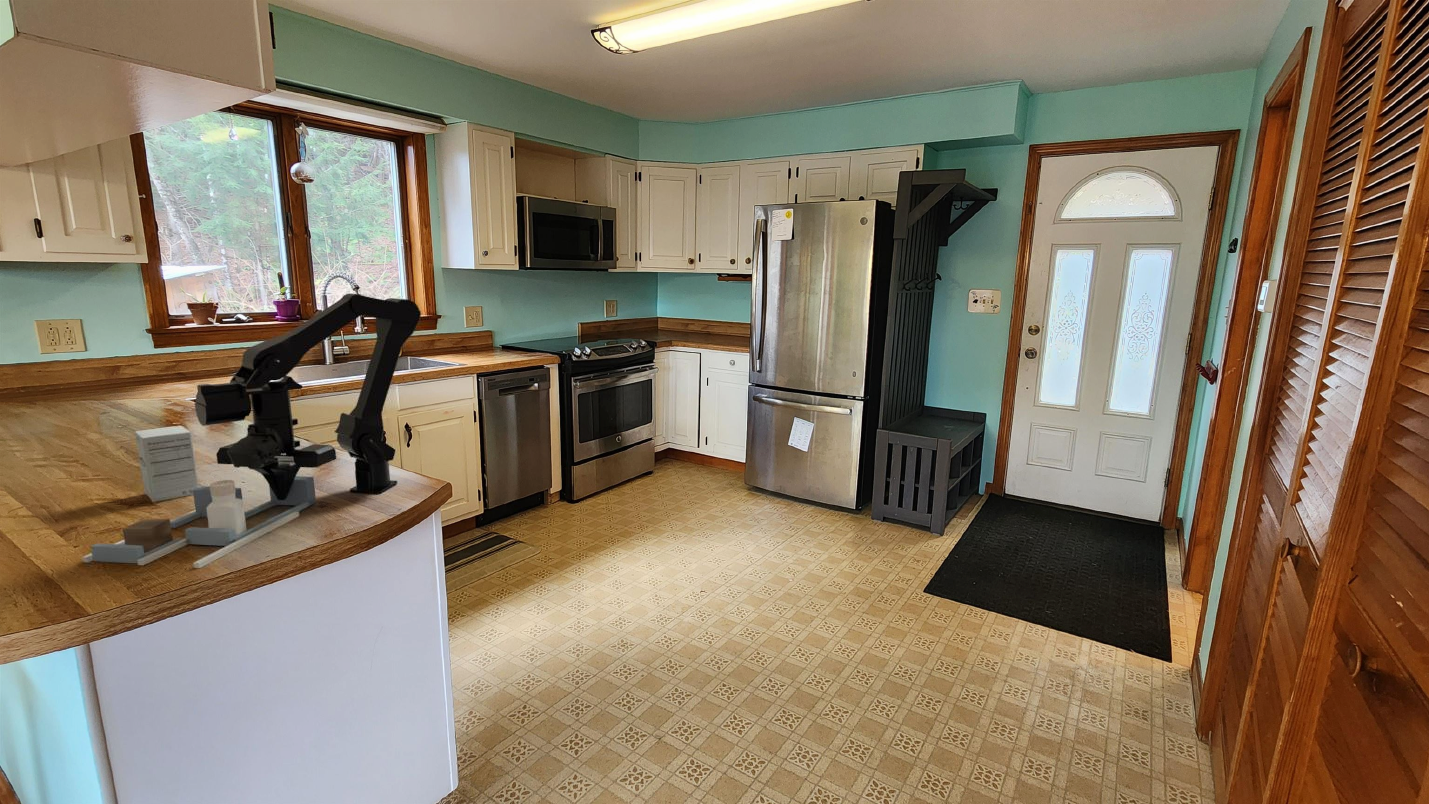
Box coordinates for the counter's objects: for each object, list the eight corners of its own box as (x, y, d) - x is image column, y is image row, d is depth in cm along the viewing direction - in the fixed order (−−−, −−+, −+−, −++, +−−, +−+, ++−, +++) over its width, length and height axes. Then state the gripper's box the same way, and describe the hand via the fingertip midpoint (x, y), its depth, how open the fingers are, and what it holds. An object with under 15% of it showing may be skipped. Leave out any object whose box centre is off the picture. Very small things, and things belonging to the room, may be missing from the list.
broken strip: (206, 512, 116) (202, 486, 115) (244, 514, 115) (241, 487, 114) (93, 560, 96) (87, 529, 95) (139, 563, 96) (133, 531, 95)
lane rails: (202, 511, 116) (201, 507, 116) (299, 515, 115) (298, 511, 115) (82, 562, 96) (81, 557, 96) (199, 568, 95) (198, 563, 94)
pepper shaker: (220, 534, 106) (212, 480, 105) (248, 532, 108) (241, 478, 106) (209, 544, 103) (201, 487, 101) (238, 542, 104) (231, 486, 102)
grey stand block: (279, 500, 122) (276, 475, 121) (316, 502, 121) (313, 476, 120) (187, 543, 102) (182, 514, 101) (230, 545, 102) (226, 516, 101)
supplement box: (143, 493, 125) (133, 430, 122) (191, 485, 130) (182, 424, 128) (151, 503, 120) (140, 437, 117) (200, 493, 125) (191, 430, 123)
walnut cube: (146, 542, 103) (142, 519, 102) (173, 542, 104) (169, 518, 103) (126, 553, 99) (122, 529, 98) (154, 552, 100) (150, 528, 99)
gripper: (183, 424, 107) (196, 513, 110) (290, 428, 106) (300, 517, 109) (236, 411, 118) (247, 491, 121) (334, 414, 117) (341, 496, 120)
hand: (282, 499), depth 117 cm, fingers closed, pressing on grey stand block
